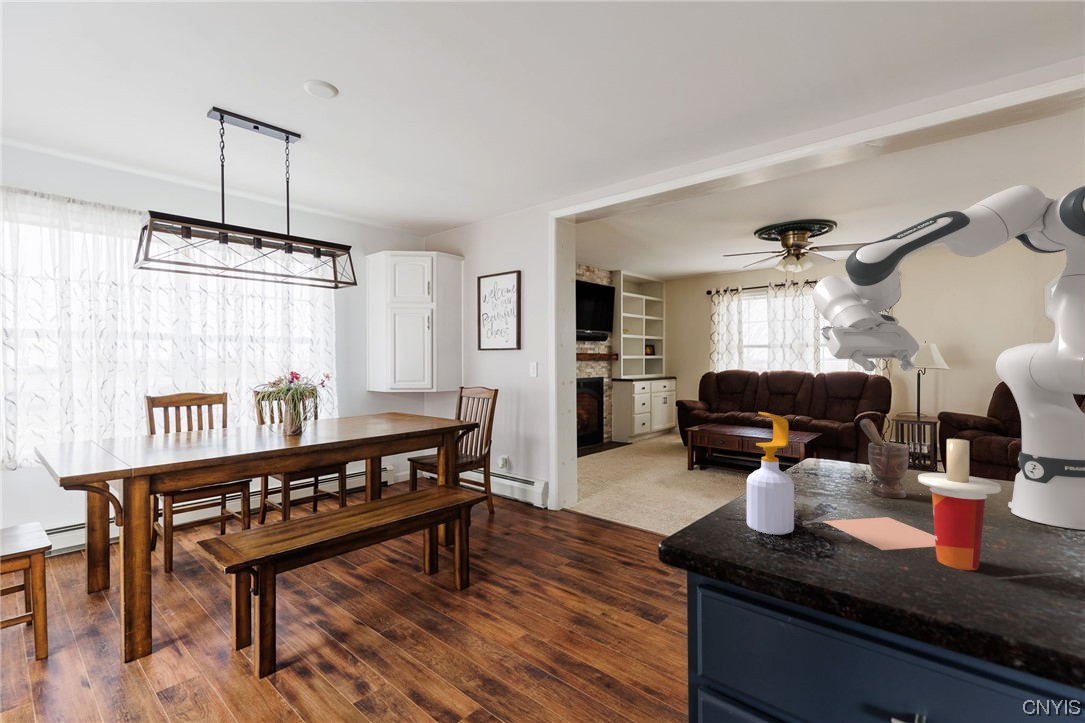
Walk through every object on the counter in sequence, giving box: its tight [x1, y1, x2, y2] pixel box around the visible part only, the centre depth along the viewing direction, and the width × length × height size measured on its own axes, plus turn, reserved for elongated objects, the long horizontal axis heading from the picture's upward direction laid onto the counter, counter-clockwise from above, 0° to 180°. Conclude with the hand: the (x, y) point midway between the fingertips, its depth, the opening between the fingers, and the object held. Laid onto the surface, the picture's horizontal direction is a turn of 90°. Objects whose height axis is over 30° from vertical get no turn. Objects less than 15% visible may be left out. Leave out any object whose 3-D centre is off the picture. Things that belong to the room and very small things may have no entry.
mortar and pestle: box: [859, 418, 910, 499], centre depth 128 cm, size 12×9×20 cm
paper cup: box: [929, 487, 988, 571], centre depth 86 cm, size 8×8×14 cm
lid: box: [917, 438, 1002, 495], centre depth 86 cm, size 11×11×8 cm
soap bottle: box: [746, 411, 795, 536], centre depth 105 cm, size 9×9×25 cm
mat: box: [822, 516, 936, 551], centre depth 101 cm, size 16×16×1 cm
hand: (890, 369), depth 109 cm, fingers open, 8 cm apart
